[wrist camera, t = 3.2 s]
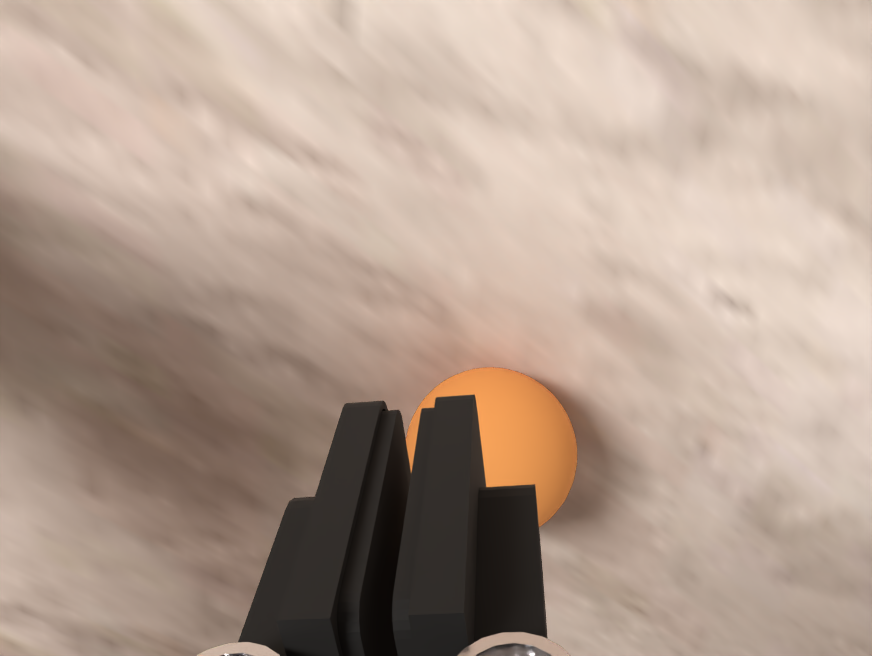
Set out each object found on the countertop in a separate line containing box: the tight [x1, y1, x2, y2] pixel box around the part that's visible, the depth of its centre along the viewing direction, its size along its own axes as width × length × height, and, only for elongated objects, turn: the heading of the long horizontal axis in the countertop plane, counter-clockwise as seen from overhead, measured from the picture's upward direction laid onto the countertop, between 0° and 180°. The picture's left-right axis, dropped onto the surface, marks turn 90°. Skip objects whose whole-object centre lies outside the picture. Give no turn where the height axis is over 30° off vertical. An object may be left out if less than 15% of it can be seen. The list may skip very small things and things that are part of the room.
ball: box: [406, 367, 577, 527], centre depth 28 cm, size 6×6×6 cm
